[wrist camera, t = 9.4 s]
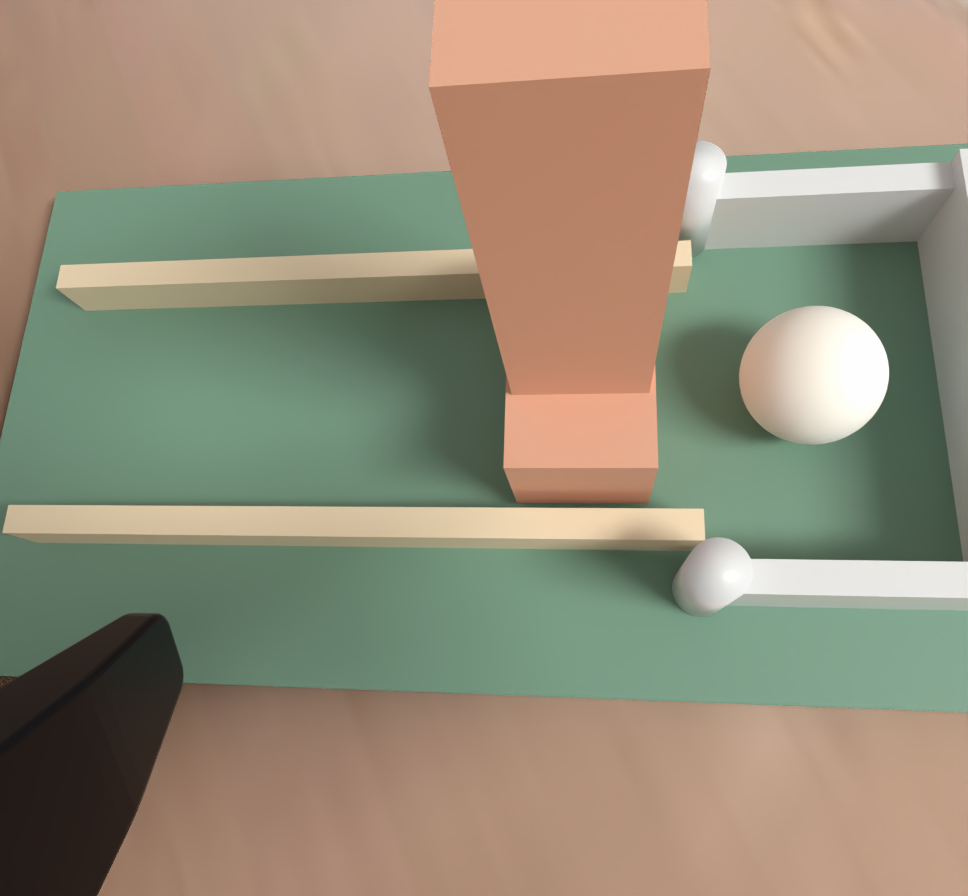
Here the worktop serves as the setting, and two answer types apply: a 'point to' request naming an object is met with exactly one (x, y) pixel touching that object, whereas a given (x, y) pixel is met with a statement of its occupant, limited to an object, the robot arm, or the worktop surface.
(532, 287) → the player
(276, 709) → the worktop surface
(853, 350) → the ball
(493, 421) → the board
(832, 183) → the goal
